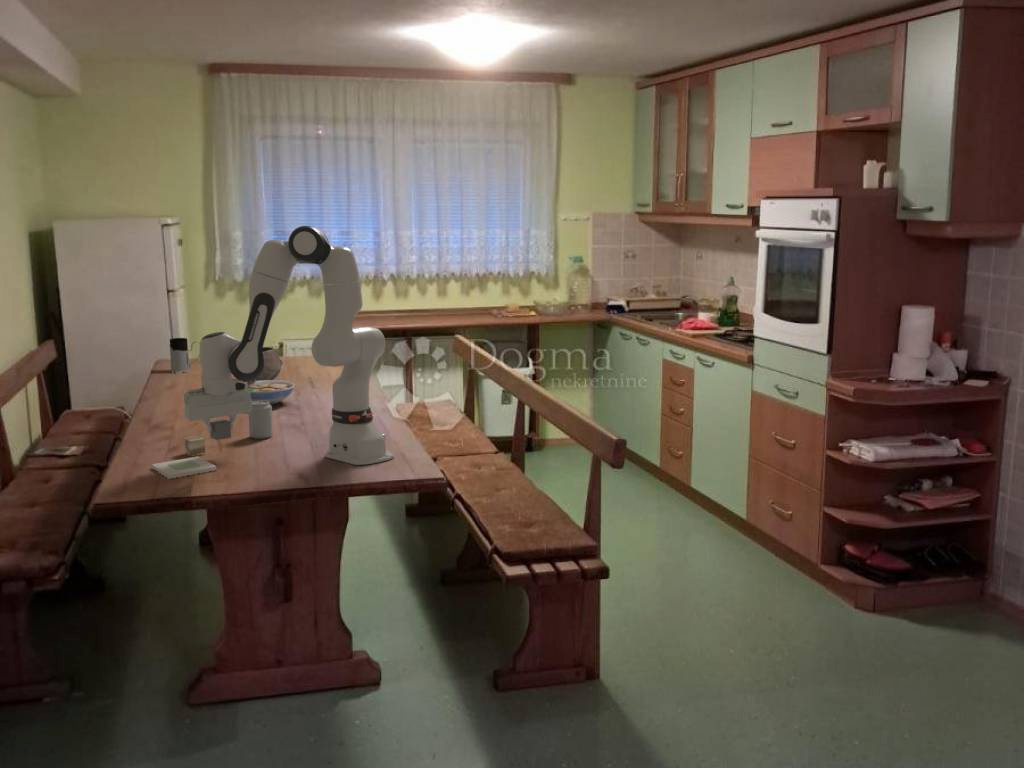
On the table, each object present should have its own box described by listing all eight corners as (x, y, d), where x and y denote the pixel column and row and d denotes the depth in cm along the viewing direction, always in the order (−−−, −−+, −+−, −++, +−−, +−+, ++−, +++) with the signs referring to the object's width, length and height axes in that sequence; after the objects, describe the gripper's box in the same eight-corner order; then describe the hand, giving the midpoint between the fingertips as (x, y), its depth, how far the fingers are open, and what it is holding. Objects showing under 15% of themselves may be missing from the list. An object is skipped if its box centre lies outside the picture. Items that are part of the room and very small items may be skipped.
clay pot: (256, 390, 393) (254, 354, 390) (221, 385, 404) (219, 350, 401) (292, 382, 411) (291, 347, 408) (258, 377, 421) (256, 343, 418)
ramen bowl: (287, 411, 354) (287, 389, 353) (226, 411, 354) (225, 389, 353) (302, 397, 379) (301, 377, 377) (244, 397, 379) (243, 377, 377)
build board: (216, 470, 278) (216, 465, 277) (168, 479, 269) (168, 474, 269) (198, 460, 288) (198, 455, 288) (151, 468, 280) (151, 463, 279)
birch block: (205, 454, 295) (204, 438, 294) (190, 456, 293) (189, 441, 292) (199, 451, 299) (198, 435, 298) (185, 453, 296) (184, 438, 295)
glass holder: (172, 370, 438) (169, 337, 435) (204, 369, 440) (202, 337, 438) (168, 373, 430) (166, 340, 427) (201, 372, 432) (199, 340, 429)
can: (250, 440, 312) (248, 404, 310) (249, 435, 319) (247, 400, 317) (273, 439, 314) (271, 403, 312) (272, 433, 321) (270, 398, 319)
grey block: (231, 437, 290) (230, 421, 289) (216, 440, 287) (215, 423, 287) (224, 435, 294) (223, 419, 293) (210, 437, 291) (209, 421, 290)
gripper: (187, 392, 279) (191, 438, 281) (252, 383, 292) (255, 427, 294) (179, 389, 284) (182, 434, 286) (243, 380, 297) (246, 424, 299)
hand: (220, 430), depth 290 cm, fingers closed on grey block, 5 cm apart
